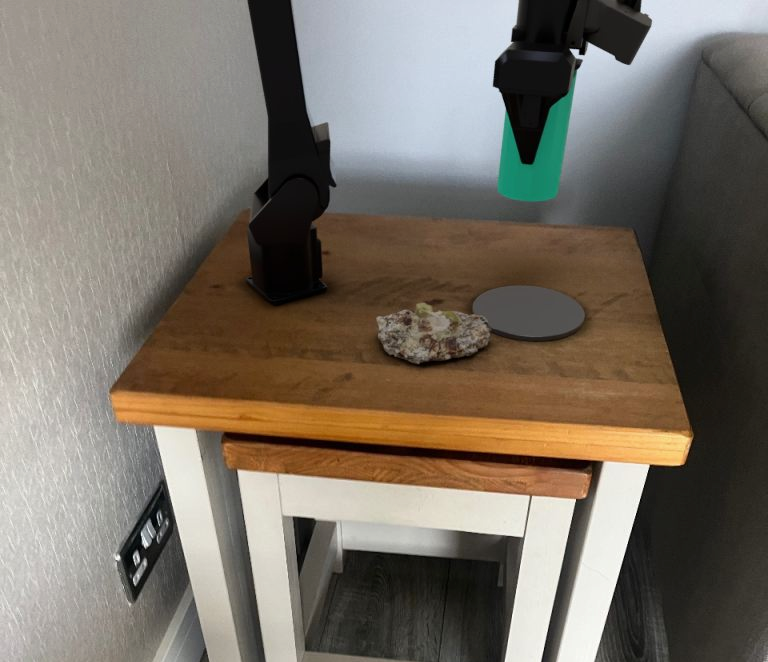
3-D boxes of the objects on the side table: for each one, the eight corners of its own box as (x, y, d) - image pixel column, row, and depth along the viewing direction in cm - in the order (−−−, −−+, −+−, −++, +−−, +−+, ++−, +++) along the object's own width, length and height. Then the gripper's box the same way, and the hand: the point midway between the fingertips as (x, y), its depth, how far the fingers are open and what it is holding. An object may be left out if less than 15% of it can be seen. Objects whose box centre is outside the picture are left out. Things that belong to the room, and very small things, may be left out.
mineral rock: (376, 346, 67) (376, 283, 72) (374, 381, 71) (374, 319, 75) (500, 350, 68) (492, 287, 72) (491, 384, 71) (485, 322, 76)
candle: (555, 182, 79) (576, 46, 71) (560, 202, 74) (583, 60, 67) (496, 179, 79) (510, 44, 71) (497, 200, 75) (513, 58, 67)
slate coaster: (521, 352, 71) (522, 347, 71) (450, 306, 78) (450, 301, 78) (607, 322, 76) (608, 317, 76) (532, 281, 83) (533, 276, 83)
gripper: (656, -27, 56) (611, 195, 66) (661, -53, 69) (623, 134, 80) (502, -35, 58) (482, 181, 68) (536, -59, 72) (515, 124, 82)
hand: (532, 153), depth 75 cm, fingers closed on candle, 6 cm apart
